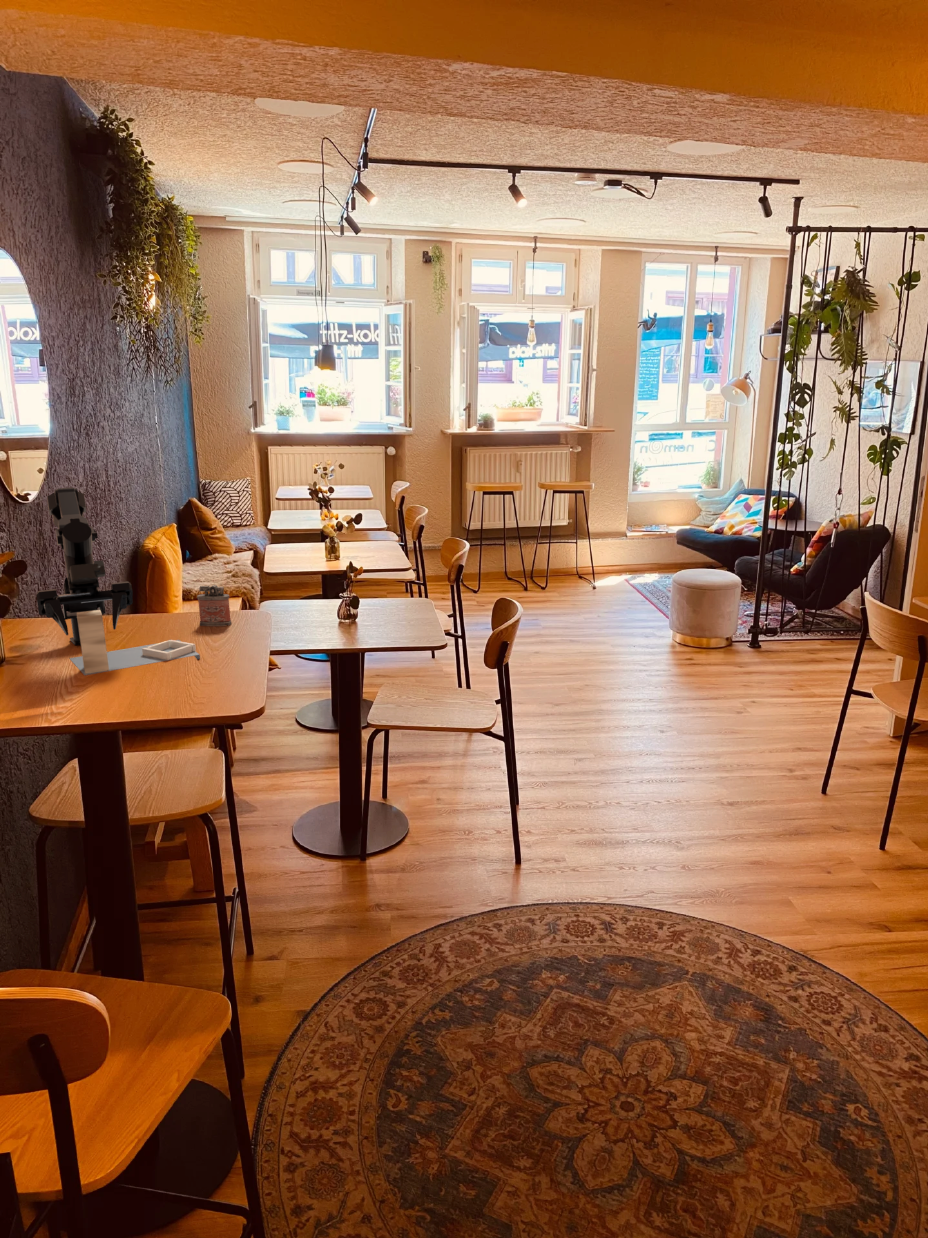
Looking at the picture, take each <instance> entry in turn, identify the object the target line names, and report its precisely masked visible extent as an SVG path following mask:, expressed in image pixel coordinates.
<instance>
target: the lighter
mask: <svg viewBox="0 0 928 1238" xmlns="http://www.w3.org/2000/svg"><path fill="white" fill-rule="evenodd" d="M198 590H199V592H204V593H203V594H202V593H201V594H198V595H196V598H197V600H198V611H199V626H202V627H203V626H204V627H225V626H226V625H228V626H231V625H232V620H231V611H230V610H231V608H230V594H227V593H224V591H225V588H224V586H218V585H217V584H213V585H211V586H210V585H200V586H199V588H198Z"/></svg>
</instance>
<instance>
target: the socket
mask: <svg viewBox="0 0 928 1238" xmlns="http://www.w3.org/2000/svg"><path fill="white" fill-rule="evenodd" d="M154 644H155V645H152V646H148V647H146V648H142V654H143V655H145V656H150V657H155V658H160V659H165V660H168V661H170V660H169V659H171V658H175V657H178V656H181V655H184V654H187V653H190V652H192V651H196V652H197V647H196V644H195V643H191V642H186V641H181V640H180V641H175V640H174V639H168V640H165V641H162V642H161V641H160V642H159V643H158V644H157V643H154ZM169 647H172V648H177V649H175V650H172V651H169V652H165V651H161V650H164V649H167V648H169Z"/></svg>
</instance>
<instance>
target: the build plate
mask: <svg viewBox="0 0 928 1238" xmlns="http://www.w3.org/2000/svg"><path fill="white" fill-rule="evenodd" d="M175 641H181V640H180V639H176V640H175ZM155 644H158V643H152V644H151V643H150V644H146V645H140V646H135V647H129V648H124V649H116V650H111V651H107V657H108V665H109V670H107V671H100V672H93V673H86V674H85V670H84V665H83V657H82V655H80V656H76V657H69V660H70V661H71V662H72V664H73V665H75V667H76V668H77V669H78V670H79V671H80V672H81V673H82V674H83V676H90V675H95V674H100V673H106V672H111V671H117V670H122V669H128V668H134V667H138V666H144V665H151V664H156V663H161V662H166V661H167V662H168V661H173V660H178V659H183V658H189V657H194V658H195V659H196V660H201V654H200V653H199V652H197V650H196V651H192V652H190V653H187V654H184V655H181V656H178V657H175V658H171V659H169V660H165V659H160V658H155V657H150V656H145V655H143V654H142V648H146V647H148V646H152V645H155ZM175 649H177V648H172V647H169V648H167V649H164V650H161V651H165V652H169V651H172V650H175Z"/></svg>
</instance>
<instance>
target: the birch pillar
mask: <svg viewBox="0 0 928 1238" xmlns="http://www.w3.org/2000/svg"><path fill="white" fill-rule="evenodd" d="M103 619H104V618H103V615H102V613H101V611H100V610H95V611H86V612H78V613H77V620H78V627H79V635H80V642H81V645H80V648H81V649H80V650H81V656H82V657H83V665H84V670H85V674H86V673H93V672H100V671H107V670H109V665H108V657H107V652H108V651H107V644H106V642H107V641H106V633H105V626H104V620H103ZM107 672H108V671H107Z"/></svg>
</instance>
